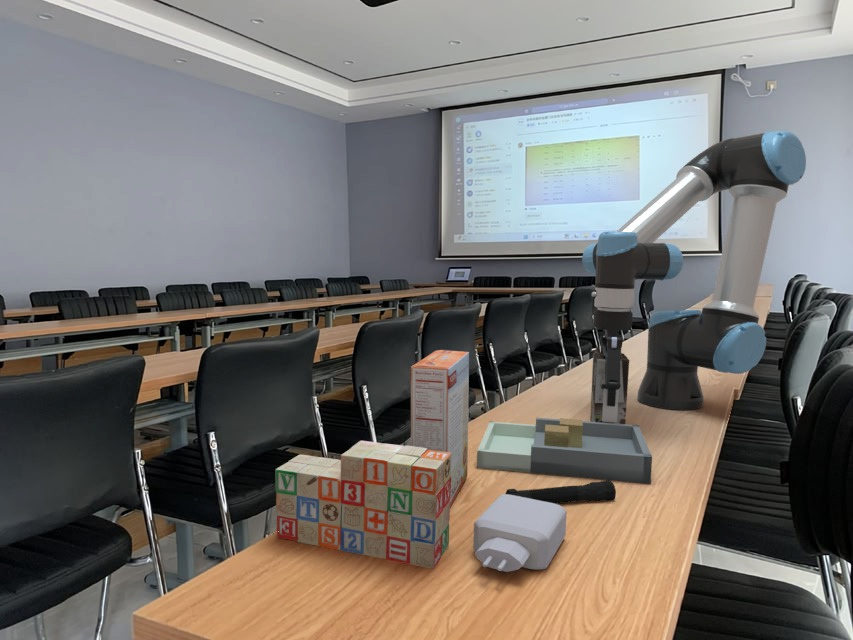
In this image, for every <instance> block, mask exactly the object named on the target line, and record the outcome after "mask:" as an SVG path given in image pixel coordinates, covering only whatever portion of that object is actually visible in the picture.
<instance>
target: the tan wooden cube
mask: <svg viewBox="0 0 853 640" xmlns="http://www.w3.org/2000/svg"><path fill="white" fill-rule="evenodd" d="M559 419H560V426H568V427H569V435H568V446H569V447H580V448H582V433H583V422H582V421H583V419H577V418H576V419H575V418H563V417H560V418H559Z"/></svg>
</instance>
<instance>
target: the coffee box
mask: <svg viewBox="0 0 853 640" xmlns="http://www.w3.org/2000/svg"><path fill="white" fill-rule="evenodd" d="M605 362H606V359H604V358H603V354H601V352H593V353H592V368H591V369H592V370H591V371H592V372H591V373H592V374H591V394H590V395H591V396H590V415H589V416H590V419H589V420H590V421H589V422H602V414H603V396H604V389H601V385H602V384H605ZM629 369H630V359H629V358H628V357H627V356H626V354H625V353H624V352H621V358H620V384H621V387H620V388H619V397H618V413H617V423H616V424H626V419H627V418H626V417H627V405H628V403H627V402H628V386H629ZM602 423H614V422H602Z"/></svg>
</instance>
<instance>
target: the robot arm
mask: <svg viewBox="0 0 853 640" xmlns="http://www.w3.org/2000/svg"><path fill="white" fill-rule="evenodd" d="M806 159H807V156H806V153H805V149H804V146H803V143H802V141H801V140H800V138H799V137H798V135H795V133H793V132H791V131H788V130H775V131H774V130H773V131H771V130H770V131H766V132H762V133H757V134H752V135H751V134H750V135H746V136H740V137H736V138H734V137H732V138H727V139H724V140H721V141H719V142H717V143H715V144H712V145H711V146H709V147H707V148H706V149H705V150H703V151H701V152H700V153H699V154H697V155H696V156H695V157H693V158H692V159H691V160H689V161H688V162H687V163H686V164H685V165H684V166H683V167H681V168H680V169H679V170H678V171H677V173H676V176H675V177H676V178H675V179H674V180H673V181H672V182H671V183H669V185H667V186H666V187H665V188H663V190H662V191H661V192H660V193H658V194H657V195H656V196H655V197H654V198H653V199H651V200H650V201H649V202H648V203H647V204H646V205H644V206H643V208H641V209H640V210H639V211H638V212H637V213H636V214H635V215H633V216H632V217H631V218H630V219H629V220H628V221H627V222H626V223H624V224H623V225H622V226H621V227H620V228H619V229H618V230H616V231H614V230H613V231H603V232H601V233H600V234H599V235H598V239H597V242H596V243H590V244H589V245H588V246H587V247H586V248H585V249H584V251H583V252H582V258H581V259H582V260H581V261H582V266H583V268H584V270H585V271H586V272H587V274H589V275H590V276H591V275H592V276H595V281H594V282H595V283H594V284H595V288H594V290H595V291H592V292H591V297H593V298H594V297H595V298H594V301H593V302H594V303H593V305H594V307H595V308H596V309H594V310H593V314H592V316H593V317H592V326H593V328H594V329H596V330H602V336H600V353H601V354H603V358H604V359H606V362H605V384H602V385H601V389H604V396H603V414H602V422H614V423H617V413H618V397H619V388H620V387H621V384H620V358H621V353H622V349H623V339H622V337H620V333H619V332H620V331H624V332H626V331H630V330H631V329H632V327H633V315H634V313H633V312H632V309H634V303H635V302H634V301H635V289H636V288H635V285H636V284H635V283H636V280H642V281H643V280H645V281H646V280H647V281H651V280H653V281H655V280H656V281H664V280H672V279H674V278H676V277H677V276H678V275H679V274H680V273H681V271H682V269H683V266H684V264H683V263H684V256H683V253H682V251H681V249H680V247H678V246H676V245H675V244H671V243H666V242H655V241H656V240H658V239H659V238H660V237H661V236H663V234H665V233H666V232H667V231H668V230H669V229H670V228H671V227H672V226H673V225H674V224H676V222H678V221H679V220H680V219H681V218H682V217H683V216H684V215H686V214H687V213H688V212H689V211H690V210H691V209H692V208H694V206H696V205H697V204H698V203H699V202H704V201H707V200H708V199H709V198H710V197H711V196H713V195H715V194H716V193H719V192H724V191H727V190H728V193H729V194H730V195H731V197H732V199H733V202H732V207H731V213H730V216H729V221H728V226H727V229H726V234H725V240H724V243H723V248H722V252H721V255H720V256H721V258H720V261H719V264H718V271H717V276H716V279H715V284H714V289H713V293H712V297H711V301H710V302H708V303H707V304H706V305H704V306H703V307H702V309H685V310H662V311H661V310H660V311H653V313H651V315H650V317H649V324H648V325H649V326H648V331H647V332H648V334H647V335H648V336H647V337H648V338H647V354H646V357H647V358H646V359H647V360H646V371H645V373H644V375H643V378H642V381H641V383H640V385H639V388H638V390H637V401H638V402H640V403H642V404H644V405H647V406H650V407H656V408H660V409H669V410H677V411H678V410H681V411H682V410H683V411H684V410H685V411H686V410H687V411H688V410H698V409H701V408H702V407H703V406H704V393H703V390H702V386H701V383H700V379H699V376H698V370H699V369H698V368H703V369H707V370H713V371H717V372H720V373H723V374H728V373H730V374H738V375H739V374H744V373H747V372H749V371H751V370H752V369H753V368H755V367H756V366H757V364H758V363H759V362H760V361H761V359H762V358H763V355H764V353H765V351H766V346H767V337H766V336H765V335H766V331H765V329H764V328H763V326H761V325H760V324H759V321H760V316H759V315H758V313H757V312H756V311H755V308H754V306H755V302H756V298H757V295H758V294H757V292H758V289H759V285H760V279H761V275H762V272H763V267H764V266H763V265H764V262H765V258H766V257H765V256H766V253H767V248H768V244H769V240H770V239H769V238H770V235H771V230H772V226H773V221H774V217H775V212H776V209H777V208H776V207H777V204H778V203H779V202H781V201H782V200H783V199H785V198H786V197H787V194H788V191H789V186H792V185H795V184H797V183H798V182H799V181H800V180H801V179H802V178H803V176H804V174H805V171H806V166H807V160H806Z"/></svg>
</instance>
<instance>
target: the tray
mask: <svg viewBox="0 0 853 640" xmlns="http://www.w3.org/2000/svg"><path fill="white" fill-rule="evenodd" d="M535 432H536V424H530V423H529V424H528V423H527V424H525V423H517V422H515V423H514V422H502V421H489V423H488V425H487V428H486V429H485V432H484V435H483V437H482V438H481V441H480V443H479V445H478V448H477V450H476V469H486V470H487V469H488V470H497V471H507V472H516V473H517V472H518V473H527V474H531V473H530V467H531V445H533V444H534V438H535Z"/></svg>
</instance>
